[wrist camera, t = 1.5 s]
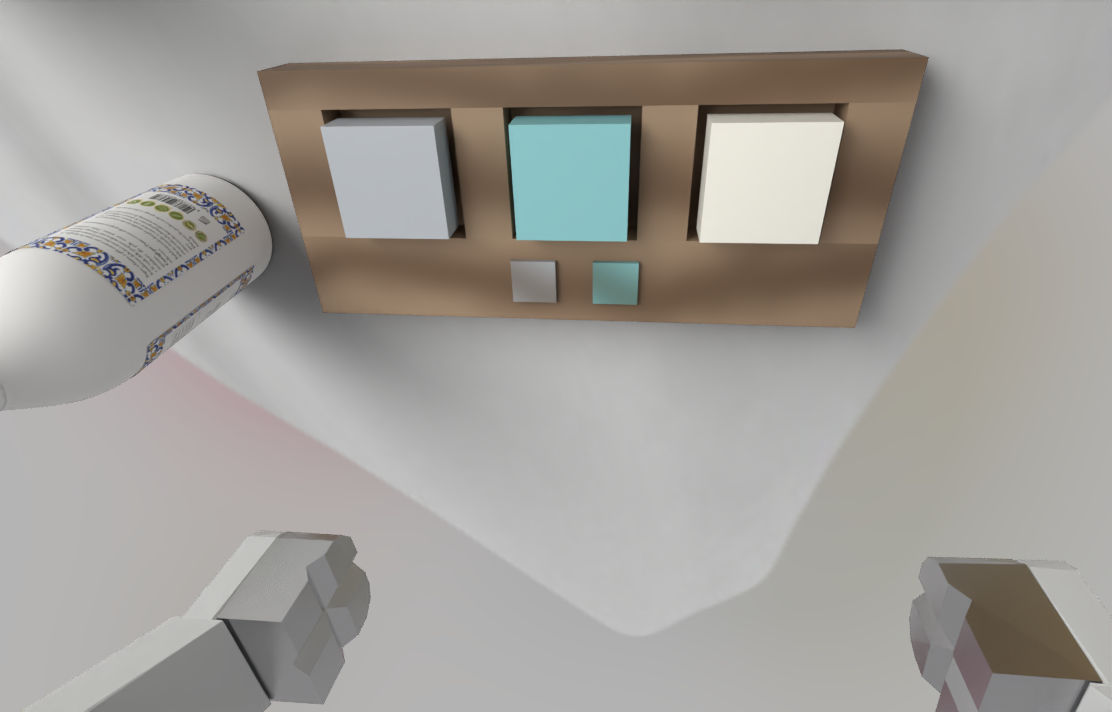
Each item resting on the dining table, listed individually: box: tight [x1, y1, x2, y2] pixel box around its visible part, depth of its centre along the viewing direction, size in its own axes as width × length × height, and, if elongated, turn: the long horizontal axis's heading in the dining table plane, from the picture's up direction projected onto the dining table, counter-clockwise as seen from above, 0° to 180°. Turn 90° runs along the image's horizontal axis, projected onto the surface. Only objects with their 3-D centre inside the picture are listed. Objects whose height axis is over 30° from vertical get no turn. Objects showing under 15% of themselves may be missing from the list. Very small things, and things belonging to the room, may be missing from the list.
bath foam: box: [0, 174, 272, 411], centre depth 28 cm, size 7×7×20 cm
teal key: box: [508, 115, 631, 242], centre depth 29 cm, size 6×6×2 cm
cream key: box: [696, 113, 844, 244], centre depth 28 cm, size 6×6×2 cm
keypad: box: [257, 50, 929, 328], centre depth 31 cm, size 13×30×3 cm, turn 92°
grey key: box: [320, 117, 459, 239], centre depth 30 cm, size 6×6×2 cm
